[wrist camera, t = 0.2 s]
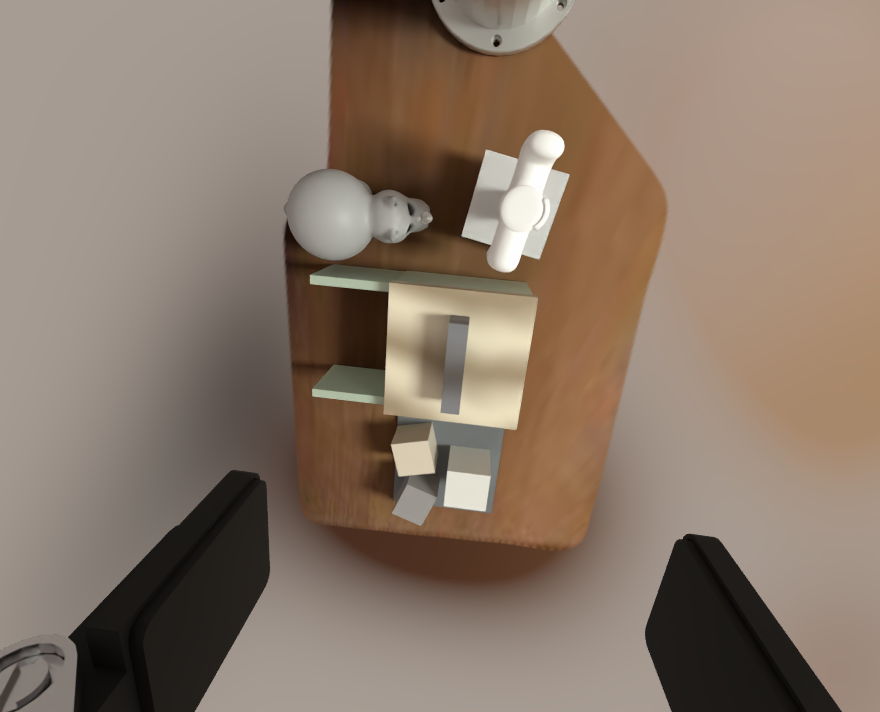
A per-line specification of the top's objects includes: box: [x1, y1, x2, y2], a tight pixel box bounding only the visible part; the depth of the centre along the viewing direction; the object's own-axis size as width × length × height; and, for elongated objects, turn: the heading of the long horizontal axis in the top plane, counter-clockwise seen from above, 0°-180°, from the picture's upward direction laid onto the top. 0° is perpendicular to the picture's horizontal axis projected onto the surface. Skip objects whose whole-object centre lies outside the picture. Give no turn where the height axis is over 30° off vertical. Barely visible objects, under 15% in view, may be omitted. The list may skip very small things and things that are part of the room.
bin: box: [310, 264, 533, 405], centre depth 43 cm, size 12×20×6 cm, turn 85°
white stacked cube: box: [444, 445, 491, 512], centre depth 48 cm, size 4×4×5 cm
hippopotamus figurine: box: [284, 169, 433, 260], centre depth 38 cm, size 8×12×9 cm, turn 87°
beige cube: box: [391, 422, 438, 477], centre depth 48 cm, size 4×4×4 cm
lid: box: [384, 281, 538, 430], centre depth 38 cm, size 12×12×4 cm
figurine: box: [461, 130, 569, 272], centre depth 34 cm, size 7×9×15 cm
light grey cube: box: [392, 473, 440, 526], centre depth 50 cm, size 4×4×4 cm
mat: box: [393, 416, 504, 513], centre depth 51 cm, size 12×12×1 cm
